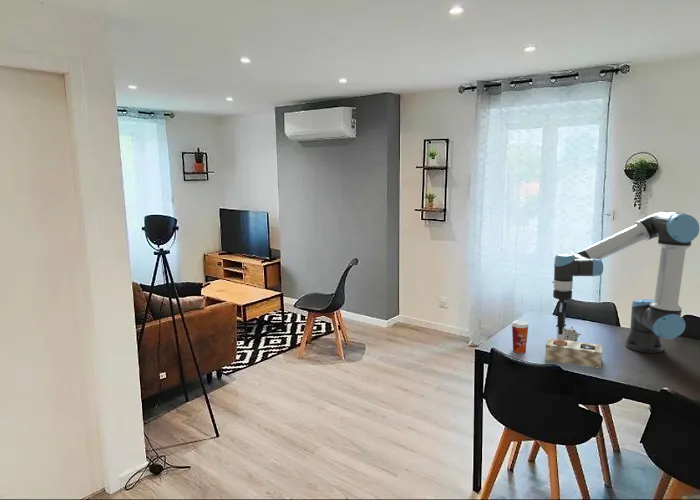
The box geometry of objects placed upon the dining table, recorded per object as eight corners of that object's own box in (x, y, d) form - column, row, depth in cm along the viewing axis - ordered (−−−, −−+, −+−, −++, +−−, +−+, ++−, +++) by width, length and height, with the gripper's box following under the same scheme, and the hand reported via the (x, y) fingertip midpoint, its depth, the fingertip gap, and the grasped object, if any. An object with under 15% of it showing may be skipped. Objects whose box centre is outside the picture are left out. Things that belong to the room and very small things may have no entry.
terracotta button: (565, 351, 211) (566, 340, 210) (565, 355, 207) (565, 343, 206) (554, 350, 213) (555, 338, 212) (553, 353, 209) (554, 341, 209)
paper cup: (519, 355, 215) (520, 326, 213) (507, 350, 222) (507, 321, 219) (531, 352, 218) (532, 323, 216) (519, 346, 225) (519, 318, 223)
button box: (601, 360, 207) (602, 345, 206) (600, 368, 198) (601, 352, 197) (547, 352, 218) (548, 337, 216) (545, 359, 209) (545, 344, 208)
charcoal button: (593, 358, 206) (593, 346, 205) (592, 361, 202) (593, 349, 201) (581, 356, 208) (582, 344, 207) (580, 360, 204) (581, 348, 203)
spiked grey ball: (573, 351, 227) (584, 340, 220) (556, 345, 228) (566, 333, 221) (573, 338, 233) (583, 326, 226) (556, 331, 234) (566, 319, 227)
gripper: (555, 285, 213) (553, 334, 217) (551, 291, 202) (549, 343, 206) (573, 286, 209) (570, 337, 213) (570, 293, 198) (568, 346, 202)
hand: (560, 340), depth 209 cm, fingers closed
